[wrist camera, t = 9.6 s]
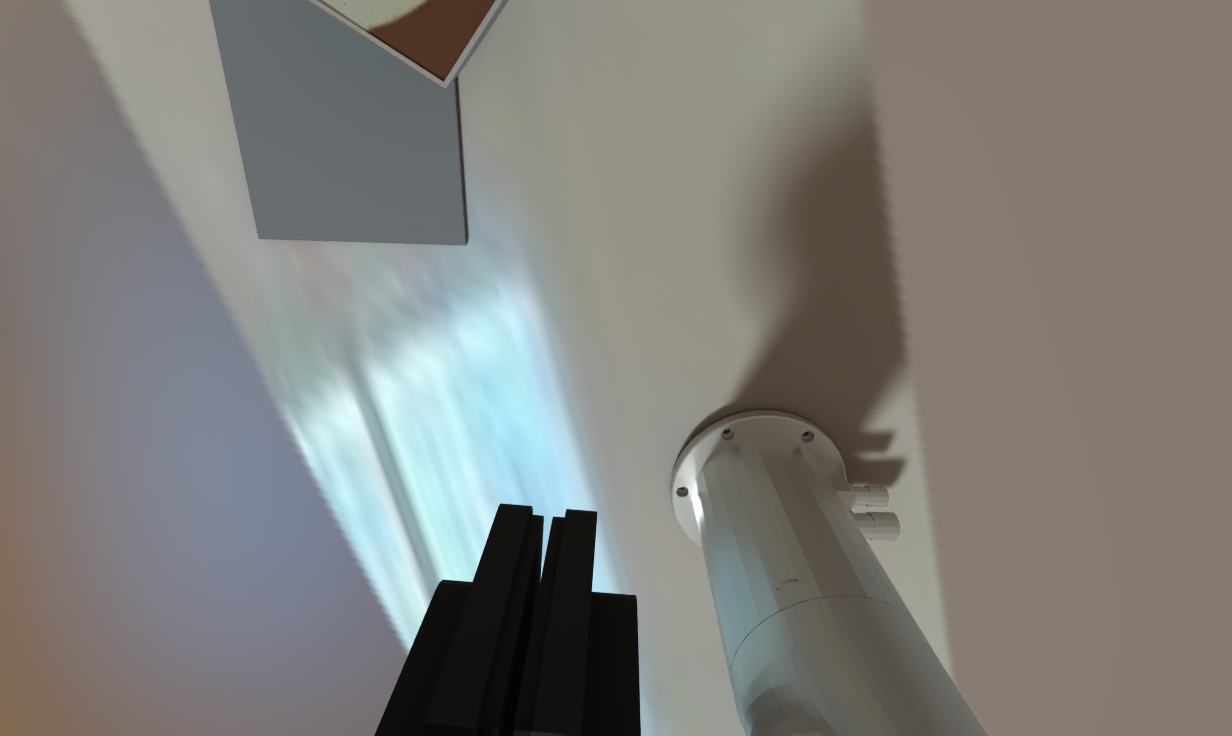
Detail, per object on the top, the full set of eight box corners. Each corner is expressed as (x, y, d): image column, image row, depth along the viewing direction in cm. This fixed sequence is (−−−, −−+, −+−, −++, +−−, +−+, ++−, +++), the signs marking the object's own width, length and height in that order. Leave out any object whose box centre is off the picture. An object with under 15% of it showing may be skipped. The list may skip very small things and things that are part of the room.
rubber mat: (434, -229, 27) (432, -234, 27) (467, 244, 35) (465, 245, 35) (164, -241, 27) (157, -246, 26) (262, 237, 35) (258, 238, 35)
